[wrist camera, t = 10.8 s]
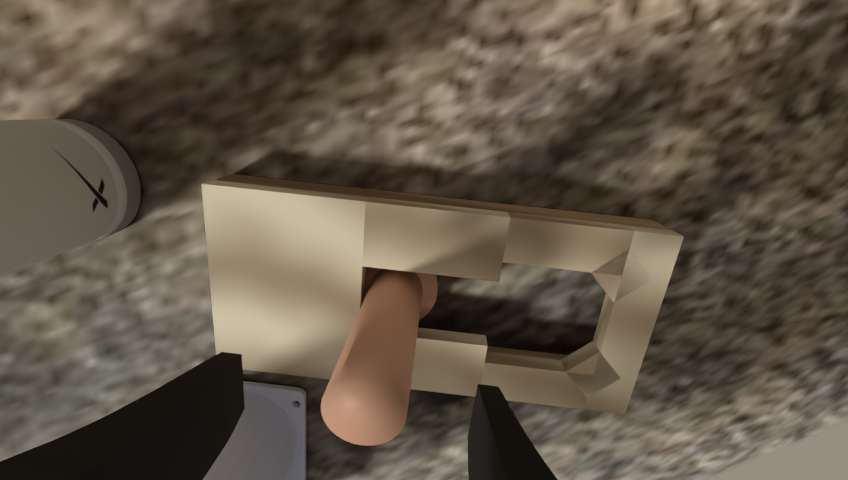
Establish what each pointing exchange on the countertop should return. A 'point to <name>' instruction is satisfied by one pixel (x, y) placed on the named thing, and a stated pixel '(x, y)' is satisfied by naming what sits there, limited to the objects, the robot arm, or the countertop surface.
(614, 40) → the countertop surface
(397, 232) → the keyhole plate
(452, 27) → the countertop surface
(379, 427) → the terracotta peg
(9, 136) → the travel mug
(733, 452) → the countertop surface
